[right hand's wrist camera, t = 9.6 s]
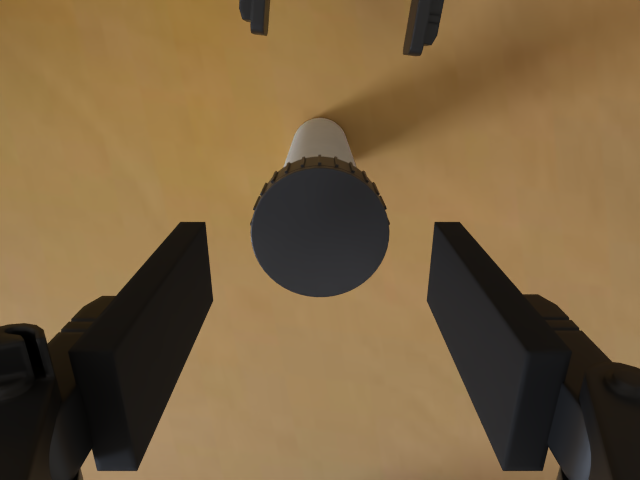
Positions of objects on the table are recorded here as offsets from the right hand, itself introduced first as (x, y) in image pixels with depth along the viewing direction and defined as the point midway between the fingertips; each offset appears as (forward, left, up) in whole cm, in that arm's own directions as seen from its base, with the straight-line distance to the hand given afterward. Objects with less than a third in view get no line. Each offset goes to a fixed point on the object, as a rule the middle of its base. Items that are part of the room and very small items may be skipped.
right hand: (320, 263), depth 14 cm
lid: (0, 0, -3) cm, 3 cm away
